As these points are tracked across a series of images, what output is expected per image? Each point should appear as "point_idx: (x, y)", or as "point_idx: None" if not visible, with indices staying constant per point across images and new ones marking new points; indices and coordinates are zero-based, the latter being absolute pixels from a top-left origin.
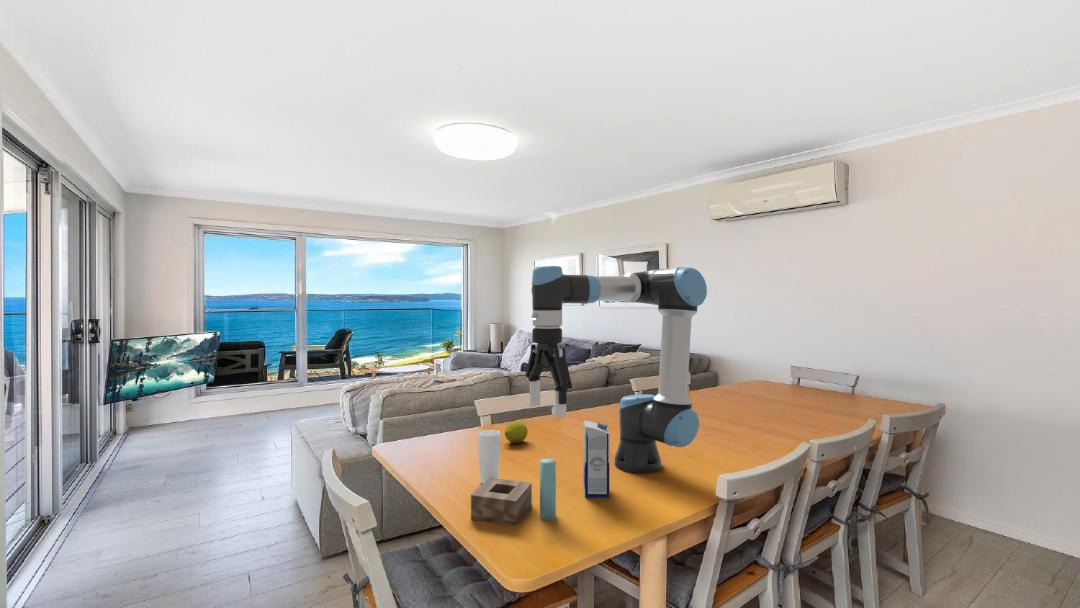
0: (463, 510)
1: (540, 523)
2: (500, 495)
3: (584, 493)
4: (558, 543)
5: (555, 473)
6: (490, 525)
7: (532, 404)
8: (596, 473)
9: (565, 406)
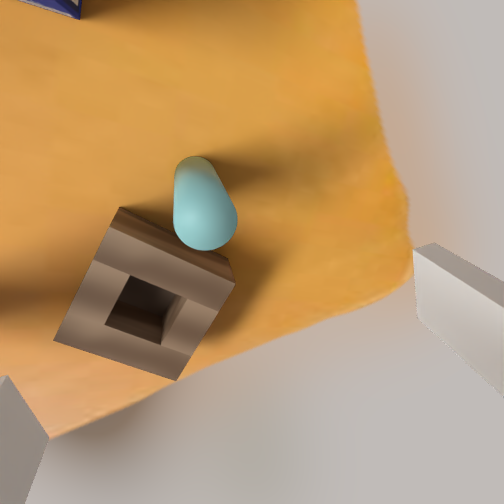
0: None
1: None
2: (192, 317)
3: (44, 8)
4: (325, 182)
5: (216, 183)
6: None
7: (37, 441)
8: None
9: (494, 283)
